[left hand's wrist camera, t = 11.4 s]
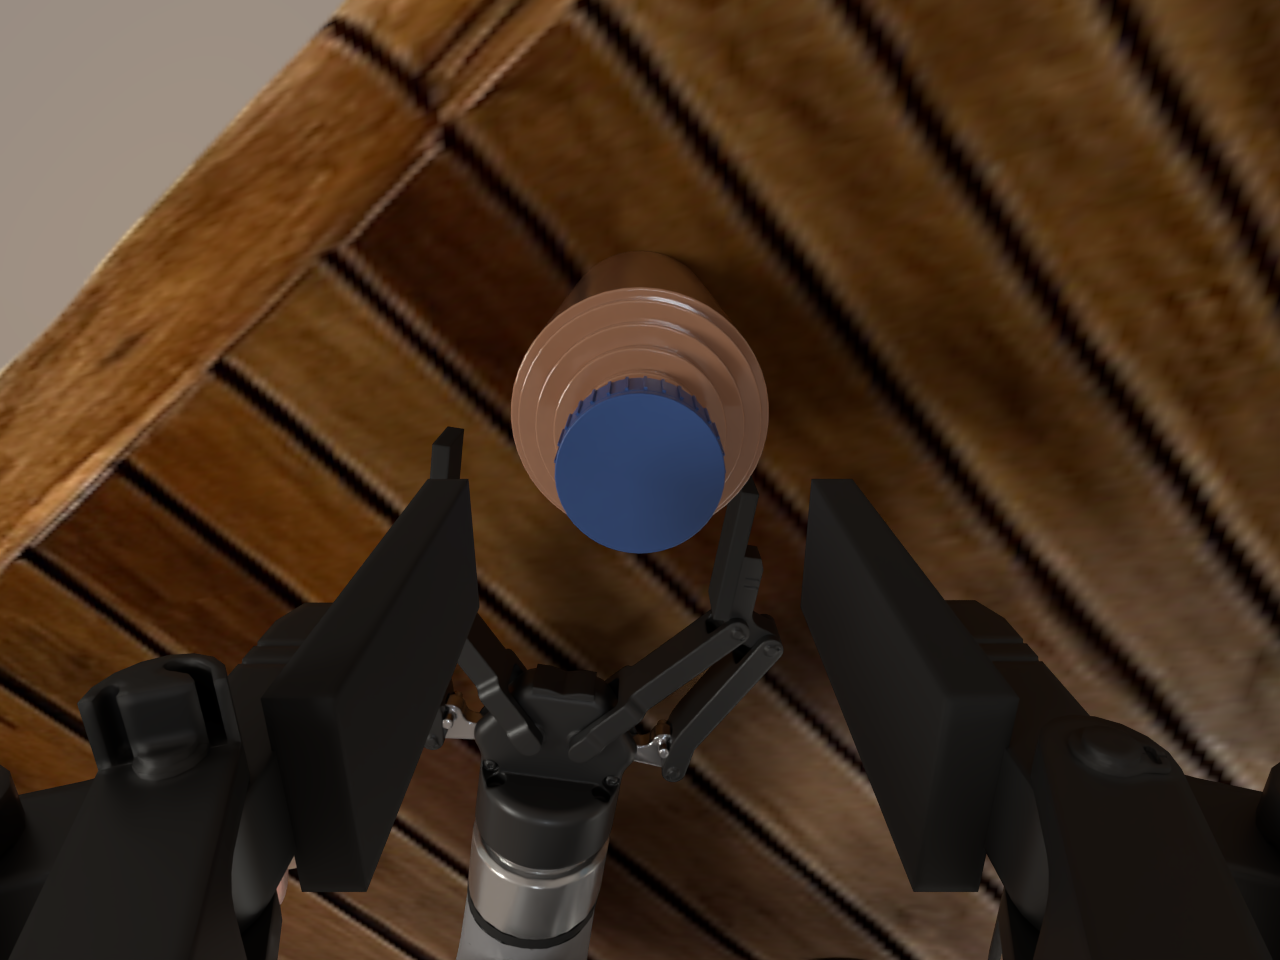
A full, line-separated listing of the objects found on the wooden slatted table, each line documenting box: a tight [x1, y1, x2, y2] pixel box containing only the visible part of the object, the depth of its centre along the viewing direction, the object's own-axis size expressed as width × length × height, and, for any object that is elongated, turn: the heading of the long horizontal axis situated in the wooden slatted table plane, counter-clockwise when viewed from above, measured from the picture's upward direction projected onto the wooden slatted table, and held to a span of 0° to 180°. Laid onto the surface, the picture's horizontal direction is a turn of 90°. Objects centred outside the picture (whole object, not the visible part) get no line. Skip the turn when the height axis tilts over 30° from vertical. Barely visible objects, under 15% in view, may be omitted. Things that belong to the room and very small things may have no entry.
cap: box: [554, 376, 726, 553], centre depth 19 cm, size 4×4×2 cm
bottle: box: [511, 251, 769, 514], centre depth 28 cm, size 8×8×21 cm
